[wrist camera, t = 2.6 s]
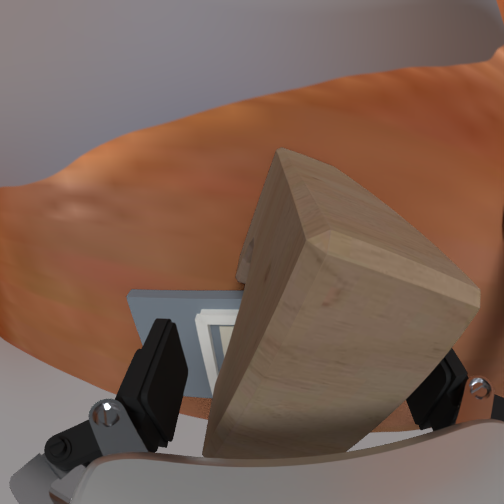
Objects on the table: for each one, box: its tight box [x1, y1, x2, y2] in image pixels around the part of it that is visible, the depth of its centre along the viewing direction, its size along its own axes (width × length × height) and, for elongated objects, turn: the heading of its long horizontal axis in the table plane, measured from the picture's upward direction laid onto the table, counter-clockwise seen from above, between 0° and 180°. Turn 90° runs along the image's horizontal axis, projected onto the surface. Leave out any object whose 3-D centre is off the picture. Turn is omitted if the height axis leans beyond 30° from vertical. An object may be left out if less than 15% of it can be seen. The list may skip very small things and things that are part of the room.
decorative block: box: [202, 147, 480, 459], centre depth 16 cm, size 11×6×20 cm, turn 161°
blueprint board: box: [126, 289, 244, 398], centre depth 32 cm, size 24×17×2 cm
